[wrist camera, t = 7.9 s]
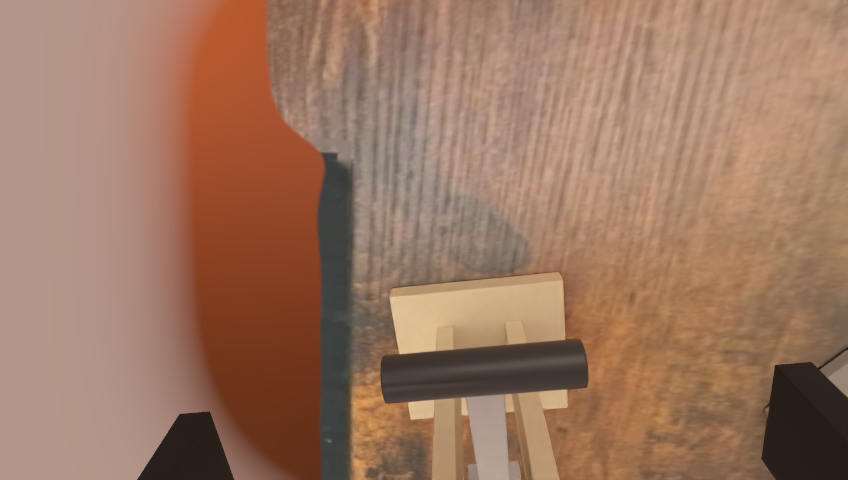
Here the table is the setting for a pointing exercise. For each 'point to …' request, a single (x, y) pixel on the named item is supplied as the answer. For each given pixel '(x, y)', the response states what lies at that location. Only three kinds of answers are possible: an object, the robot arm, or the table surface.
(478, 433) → the lever
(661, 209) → the table surface
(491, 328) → the bracket
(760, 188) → the table surface
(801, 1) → the table surface
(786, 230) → the table surface
